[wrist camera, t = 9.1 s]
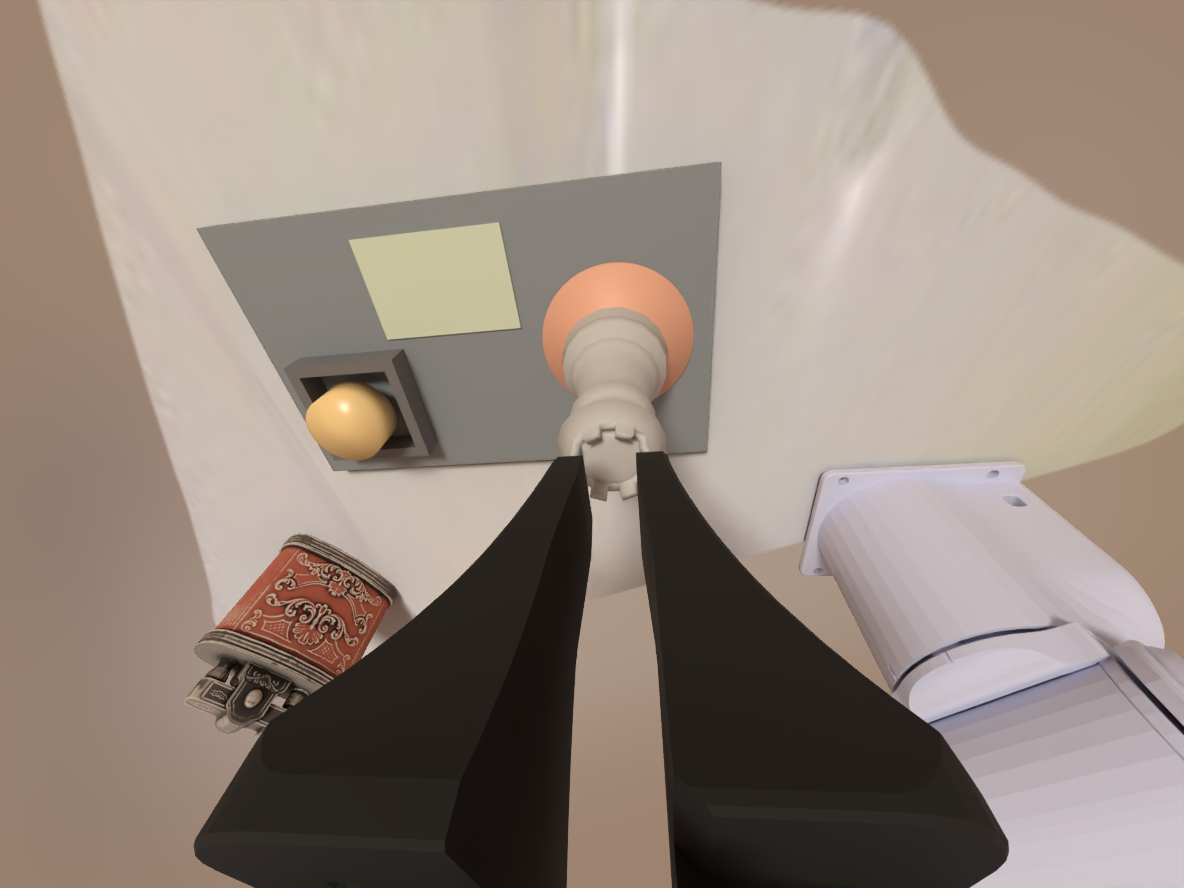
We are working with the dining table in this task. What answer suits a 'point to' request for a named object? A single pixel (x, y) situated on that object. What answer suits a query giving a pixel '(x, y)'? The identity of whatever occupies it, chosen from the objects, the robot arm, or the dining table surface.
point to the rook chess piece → (613, 397)
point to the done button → (351, 420)
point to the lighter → (289, 634)
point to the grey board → (482, 305)
